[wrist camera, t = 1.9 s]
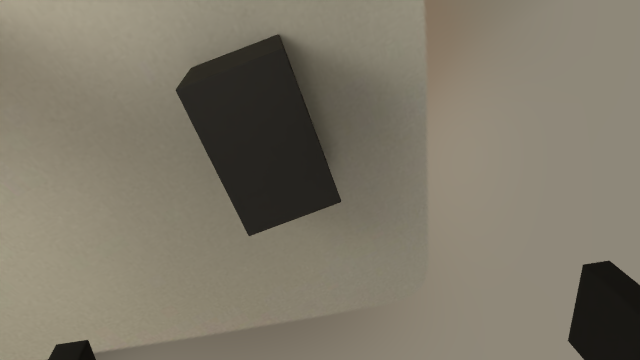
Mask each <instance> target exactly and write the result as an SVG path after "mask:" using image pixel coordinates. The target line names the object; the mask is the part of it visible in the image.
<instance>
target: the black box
mask: <svg viewBox="0 0 640 360" xmlns="http://www.w3.org/2000/svg"><path fill="white" fill-rule="evenodd" d="M176 92H177V94H178V96H179V98H180V100H181V102H182V104H183V106H184V108H185V110H186V112H187V114H188V116H189V118H190V120H191V122H192V124H193V126H194V128H195V130H196V132H197V134H198V136H199V138H200V140H201V142H202V144H203V146H204V148H205V150H206V152H207V154H208V156H209V158H210V160H211V162H212V164H213V166H214V168H215V170H216V172H217V174H218V176H219V178H220V180H221V182H222V184H223V186H224V188H225V190H226V192H227V194H228V196H229V198H230V200H231V202H232V204H233V206H234V208H235V210H236V212H237V214H238V215H239V217H240V219H241V221H242V223H243V225H244V227H245V229H246V231H247V233H248V235H249V236H251V235H254V234H256V233H259V232H262V231H264V230H267V229H270V228H272V227H275V226H278V225H280V224H283V223H286V222H289V221H291V220H294V219H297V218H299V217H302V216H305V215H307V214H310V213H313V212H315V211H318V210H321V209H323V208H326V207H329V206H331V205H334V204H337V203H340V202H341V199H340V196H339V193H338V191H337V188H336V185H335V183H334V180H333V177H332V175H331V172H330V169H329V167H328V164H327V161H326V159H325V156H324V153H323V151H322V148H321V145H320V143H319V140H318V137H317V135H316V132H315V129H314V127H313V124H312V121H311V119H310V116H309V113H308V111H307V108H306V105H305V103H304V100H303V97H302V95H301V92H300V89H299V87H298V84H297V81H296V79H295V76H294V73H293V71H292V68H291V65H290V63H289V60H288V57H287V54H286V52H285V49H284V46H283V44H282V41H281V39H280V36H279V35H275V36H273V37H270V38H268V39H265V40H262V41H260V42H257V43H255V44H252V45H249V46H247V47H244V48H242V49H239V50H236V51H234V52H231V53H229V54H226V55H223V56H221V57H218V58H216V59H213V60H210V61H208V62H205V63H203V64H200V65H197V66H195V67H192V68H191V69H190V70H189V72H188V73H187V74H186V76H185V77H184V79H183V80H182V81H181V83H180V84H179V86H178V87H177V88H176Z"/></svg>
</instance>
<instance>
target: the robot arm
mask: <svg viewBox="0 0 640 360" xmlns="http://www.w3.org/2000/svg"><path fill="white" fill-rule="evenodd" d="M568 341H569V342H570V344H571V345H572V346H573V347H574V348H575V349H576V351H577V352H578V353H579V354H580V355H581V356H582V358H583V359H584V360H640V285H639V284H638V283H636V282H635V281H634V280H633V279H631V278H630V277H629V276H628V275H626V274H625V273H624V272H623V271H621V270H620V269H619V268H618V267H616V266H615V265H614V264H613V263H611V262H610V261H604V262H597V263H591V264H585V265H583V268H582V273H581V278H580V283H579V288H578V293H577V298H576V303H575V308H574V313H573V318H572V323H571V328H570V334H569V338H568ZM48 360H96V359H95V356H94V354H93V351H92V349H91V346H90V344H89V341H88V340H84V341H78V342H71V343H65V344H58V345H56V346H55V348H54V350H53V352H52V354H51V355H50V357H49V359H48Z"/></svg>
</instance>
